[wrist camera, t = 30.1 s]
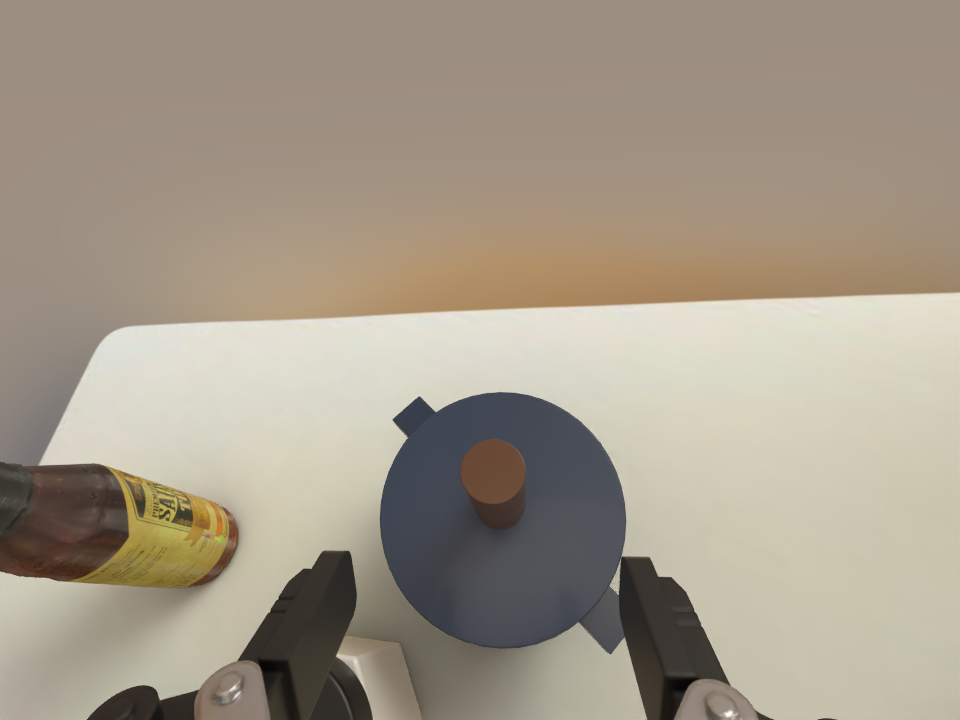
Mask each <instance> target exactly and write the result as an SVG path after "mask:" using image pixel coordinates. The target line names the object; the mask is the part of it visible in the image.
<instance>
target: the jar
mask: <svg viewBox="0 0 960 720" xmlns="http://www.w3.org/2000/svg"><path fill="white" fill-rule="evenodd" d="M309 720H422V715H421V712H420V709H419V705H418V702H417V699H416V695H415V692H414V688H413V685H412V682H411V678H410V675H409V672H408V668H407V665H406V661H405V658H404V655H403V651H402V648H401V645H400V644H399V643H396V642H388V641H381V640H373V639H366V638H358V637H351V636H344V639H343V641H342V643H341V646H340V648H339V651H338V653H337V655H336V658H335V660H334V662H333V665H332V667H331V670H330V672H329V674H328V677H327V679H326V681H325V684H324V686H323V689H322V691H321V693H320V696H319V698H318V700H317V703H316V705H315V708H314V710H313V712H312V715H311V717H310V719H309Z"/></svg>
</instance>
